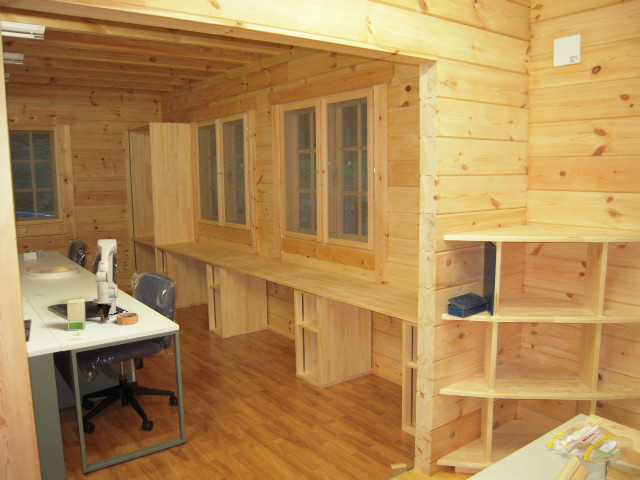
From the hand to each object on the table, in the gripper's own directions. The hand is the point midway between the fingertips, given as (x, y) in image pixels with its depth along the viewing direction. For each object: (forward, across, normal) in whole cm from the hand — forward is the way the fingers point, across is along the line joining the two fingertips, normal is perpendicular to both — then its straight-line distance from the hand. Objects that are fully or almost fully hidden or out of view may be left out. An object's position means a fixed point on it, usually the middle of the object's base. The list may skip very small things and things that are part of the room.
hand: (104, 316), depth 301 cm
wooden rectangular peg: (+2, 0, 0) cm, 2 cm away
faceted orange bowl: (+3, +10, +7) cm, 13 cm away
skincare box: (+4, -5, -14) cm, 15 cm away
